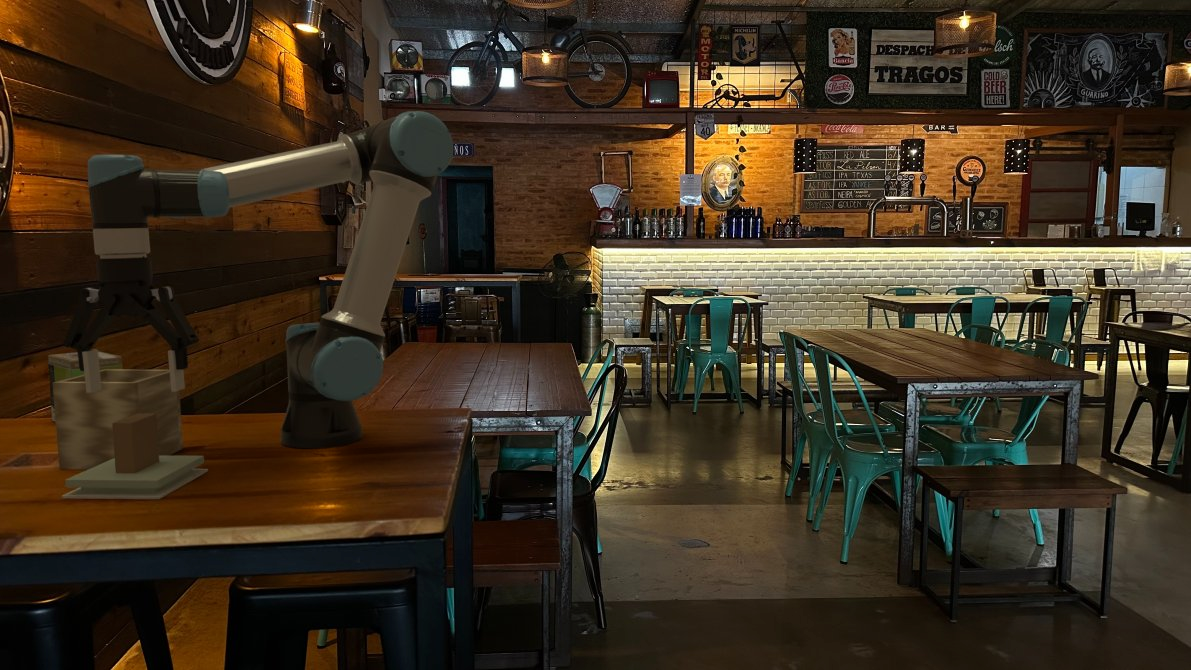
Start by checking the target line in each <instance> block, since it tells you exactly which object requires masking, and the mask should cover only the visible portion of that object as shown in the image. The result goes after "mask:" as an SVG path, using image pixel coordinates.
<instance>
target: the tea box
mask: <svg viewBox="0 0 1191 670" xmlns="http://www.w3.org/2000/svg"><path fill="white" fill-rule="evenodd" d="M98 357H99V367H100V370H104V369H117V370H124V369H123V359H122V356H121V355H117V354H112V353H108V352H103V351H99V350H98ZM47 359H48V375H49V389H50V390H49V393H50V394H49V395H50V405H51V407H50V408H51V409H50V410H51V419H52V421H53V422H55V423H56V419H55V406H54V394H53V382H57V381H61V380H65V379H69V378H73V377H77V376H80V375H84V371H81V370H80V368H79V360H78V352H77V351H75V352H67V353H66V352H65V353H57V354H49V355H47Z"/></svg>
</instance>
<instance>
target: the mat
mask: <svg viewBox="0 0 1191 670" xmlns="http://www.w3.org/2000/svg"><path fill="white" fill-rule="evenodd" d="M207 472H209V469H208V468H194V469H192V472H191V473H189V474H188V475H186V476H184V477H182V478H180V479H179V480H177V481H175V482H173V483H171V484H170V485H168V486H166V487H164V488H162V489H161V490H159V491H157V492H155V493H104V492H81V488H78V487H76V488H75V489H74V490H72V491H71V490H70V491H69V492H67V493H64V494H63V495H61V499H84V500H85V499H90V500H91V499H96V500H98V499H99V500H100V499H101V500H102V499H103V500H104V499H105V500H106V499H107V500H161V499H162V498H164V497H166V496H167V495H169V494H171V493H172V492H175V491H176V490H178V489H180V488H181V487H183V486H185V485H187V484H188V483H190V482H192V481H193V480H195V479H197V478H199V477H200V476H203V475H204V474H206V473H207Z"/></svg>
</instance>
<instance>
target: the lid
mask: <svg viewBox="0 0 1191 670" xmlns="http://www.w3.org/2000/svg"><path fill="white" fill-rule="evenodd" d="M112 426H113V441H114V455H115V458H113V459H111V460H109V461H107V462H104V463H102V464H100V465H98V466H95V467H93V468H91V469H85V470H84V471H82V472H79V473H78V474H74V475H73V476H71V477H68V478H66V479H65V480H64V482H65V488H81V492H104V493H155V492H157V491H159V490H161V489H162V488H164V487H166V486H168V485H170V484H171V483H173V482H175V481H177V480H179V479H180V478H182V477H184V476H186V475H188V474H189V473H191V472H192V469H197V468H198V467H200V466H202V464H204V463H205V457H204V455H169V456H166V455H159V447H158V431H157V416H156V414H136V415H133V416H130V417H128V418H125V419H122V420H119V421H117V422H114V423H112Z"/></svg>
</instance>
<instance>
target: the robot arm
mask: <svg viewBox="0 0 1191 670" xmlns="http://www.w3.org/2000/svg"><path fill="white" fill-rule="evenodd" d="M453 142H454V141H453V137H452V135H451V134H450V131H449V128H448V127H447V126H446V124H445V123H444V122H443V121H442V120H441V119H440V118H439V117H437V116H436V115H434V114H431V113H429V112H426V111H422V110H417V111H413V110H411V111H410V110H409V111H404V112H402V113H400V114H398V115H397V116H393V117H390V118H387V119H383V120H381V121H379V122H377V123H375V124H372V125H370V126H368V127H366V128H364V129H360V130H357V131H353V132H350V133H345V134H341V135H340V137H339V138H338V140H337V141H333V142H332V141H331V142H328V143H327V142H326V143H322V144H317V145H313V146H309V147H303V148H299V149H293V150H288V151H284V152H279V153H274V154H269V155H264V156H259V157H254V158H249V159H244V160H240V161H239V160H238V161H235V162H230V163H225V164H219V165H215V166H210V167H206V168H202V169H192V170H191V169H150V168H145V165H144V164H143V163H144V162H143V159H142V158H141V157H140V156H137V155H132V154H127V155H126V154H125V155H124V154H96V155H92V156H91V157H90V158H89V159H88V161H87V185H88V186H87V187H88V195H89V204H90V206H89V207H90V214H91V221H92V222H91V223H92V232H93V233H92V235H93V237H92V238H93V245H94V247H93V248H94V254H95V255H96V256H99V257H100V258H97V260H96V261H95V265H96V276H97V280H98V282H99V288H98V289H96V288H95V287H85V288H84V287H83V288H81V289H79V291H78V305H77V307H76V309H75V312H74V315H73V317H72V320H71V322H70V325H69V327H68V330H67V332H66V335H65V338H64V340H63V343H62V344H63V346H64V347H65V348H71V349H74V350H75V351H76V352H78V360H79V368H80V370H81V371H84V374H85V384H86V393H92V392H95V391H98V390H101V389H102V387H101V377H100V367H99V357H98V351H99V350H98V349H95V344H96V343H97V341H98V340H99V338H100V337H101V336H102V335H103V334H104V332H105V330H106V329H107V327H109V325H110V323H111V322H112V321H113V319H114V318H117V317H125V316H127V317H138V316H140V317H141V318H142V319H143V320H146V321H147V322H148V323H149V325H151V327H153V329H154V330H155V331H156V332H157V333H158V334H159V335H160V336H161V337H162V338H163V339H164V340H165V341H166V343H168V345H169V346H170V347H171V349H170V350H167V356H168V357H167V358H168V368H169V369H168V370H170V382H171V392H176V391H179V392H180V391H182V390H184V389H186V387H185V386H186V385H185V384H186V383H185V372H184V370H186V369H188V367H189V361H188V347H189V348H190V347H191V346H193V345H195V344H198V343H199V340H200V339H199V337H198V335H197V334H196V332H195V330H194V328H193V327H192V325H191V323H190V322H189V320H188V318H187V316H186V315H185V313H184V311H183V309H182V308H181V306H180V304H179V303H178V300H177V299H176V293H175V289H174V287H173V286H171V285H168V286H167V285H166V286H161V287H159V288H154V286H153V278H154V277H153V275H154V274H153V265H152V259H151V258H150V257H148V256H147V255H148V254H150V253H151V246H150V245H151V243H150V232H149V223H148V220H149V218H153V219H155V218H157V219H158V218H168V219H170V220H175V221H179V220H185V219H190V218H204V219H210V218H220V217H225V216H227V214H228V213H229V209H230V208H234V207H238V206H243V205H246V204H251V203H256V202H260V201H265V200H269V199H273V198H279V197H282V196H287V195H291V194H292V195H293V194H296V193H301V192H305V191H309V190H313V189H318V188H321V187H322V188H323V187H327V186H330V185H335V184H339V183H344V182H345V183H346V182H348V181H350V182H351V183H353V184H354V185H360V184H363V183H370V182H372V183H373V188H372V190H371V194H370V197H369V200H368V203H367V206H366V210H365V212H364V215H363V217H362V221H361V225H360V228H359V231H358V234H357V236H356V239H355V242H354V246H353V248H352V252H351V255H350V257H349V261H348V264H347V267H346V269H345V273H344V276H343V279H342V282H341V285H340V288H339V291H338V294H337V297H336V300H335V302H334V306H333V308H332V309H331V310H330V311H328V312H327V313H324V314H323V315H321V317H320V320H319V322H310V323H297V324H291V325H289V326H288V327H287V329H286V332H285V333H286V334H285V335H286V339H284V340H285V341H284V342H285V345H286V347H285V348H286V362H287V363H286V367H287V368H286V369H287V385H288V386H287V387H288V405H287V409H286V412H285V415H284V418H283V422H282V425H281V429H280V442H281V444H282V445H283V446H286V447H290V448H297V449H321V448H332V447H339V446H344V445H348V444H351V443H355V442H357V441H359V440H360V439H361V438H362V437H363V426H362V423H361V420H360V417H359V415H358V411H357V409H356V407H355V404H354V401H356V400H359V399H361V398H364V397H365V396H367V395H369V394H370V393H371V392H372V391H373V390H374V389H375V388H376V387H377V385H379V382H380V380H381V378H382V374H383V371H384V362H383V358H382V355H381V350H382V348H383V344H384V341H385V338H386V334H385V332H384V330H383V328H382V326H381V322H382V319H383V316H384V313H385V309H386V307H387V303H388V300H389V298H390V295H391V292H392V288H393V284H394V282H395V279H396V276H397V273H398V269H399V266H400V264H401V261H402V257H403V256H404V255H403V254H404V252H405V250H406V249H405V248H406V244H407V243H408V239H409V236H410V232H411V230H412V227H413V223H414V221H415V218H416V215H417V212H418V208H419V207H420V202H421V201H422V200H425V199H427V198H430V197H431V195H432V193H433V190H434V187H435V184H436V180H437V178H438V175H440V174H441V173H443V172H444V171H445V170H446V169H447V168H448V166H449V165H450V163H451V161H452V159H453V155H454V143H453ZM155 298H156V300H157V301H158V302H160V305H161V307H162V309H163V311H164V312H165V314H166V316H167V317H168V319H169V320H170V322H171V323H170V322H169V321H168V320H167V319H166V318H165V317H164V316H163V315H162V314H161V311H160V309H159V308H158V307H157V306H156V305H155V303H153V302H154V299H155ZM99 300H100V301H101V303H103V305H102V306H101V307H100V309H99V310H98V312H97V316H96V317H95V318H94V319H93V320H92V322H91V323H90V320H91V319H92V316H93V312H94V310H95V308H96V304H97V303H98V301H99ZM89 323H90V325H89Z"/></svg>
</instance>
